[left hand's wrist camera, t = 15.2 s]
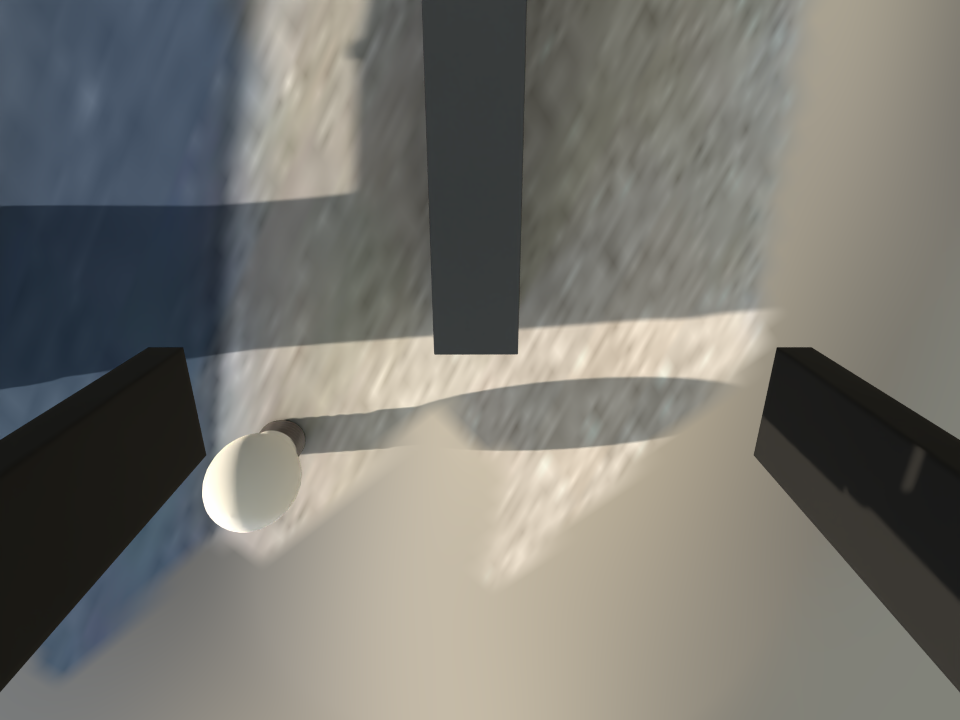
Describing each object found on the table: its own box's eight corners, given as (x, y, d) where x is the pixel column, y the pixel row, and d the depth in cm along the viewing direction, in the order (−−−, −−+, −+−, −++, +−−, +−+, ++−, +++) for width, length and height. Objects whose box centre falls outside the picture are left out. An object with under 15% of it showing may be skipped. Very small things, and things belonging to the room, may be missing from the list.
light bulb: (264, 477, 50) (208, 564, 40) (231, 414, 47) (162, 489, 37) (333, 459, 49) (295, 543, 39) (303, 393, 47) (253, 464, 36)
